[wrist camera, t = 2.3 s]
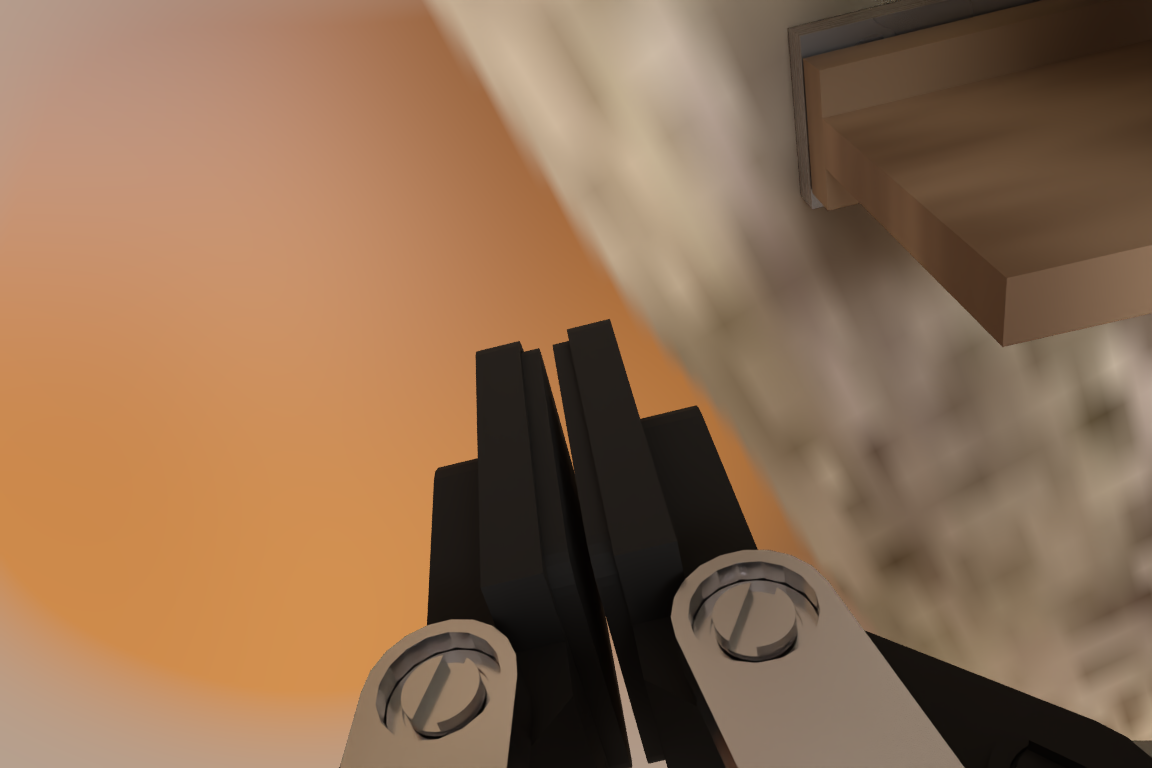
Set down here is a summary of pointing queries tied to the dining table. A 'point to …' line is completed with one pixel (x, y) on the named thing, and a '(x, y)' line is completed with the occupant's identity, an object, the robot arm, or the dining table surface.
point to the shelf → (1003, 157)
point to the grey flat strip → (919, 9)
